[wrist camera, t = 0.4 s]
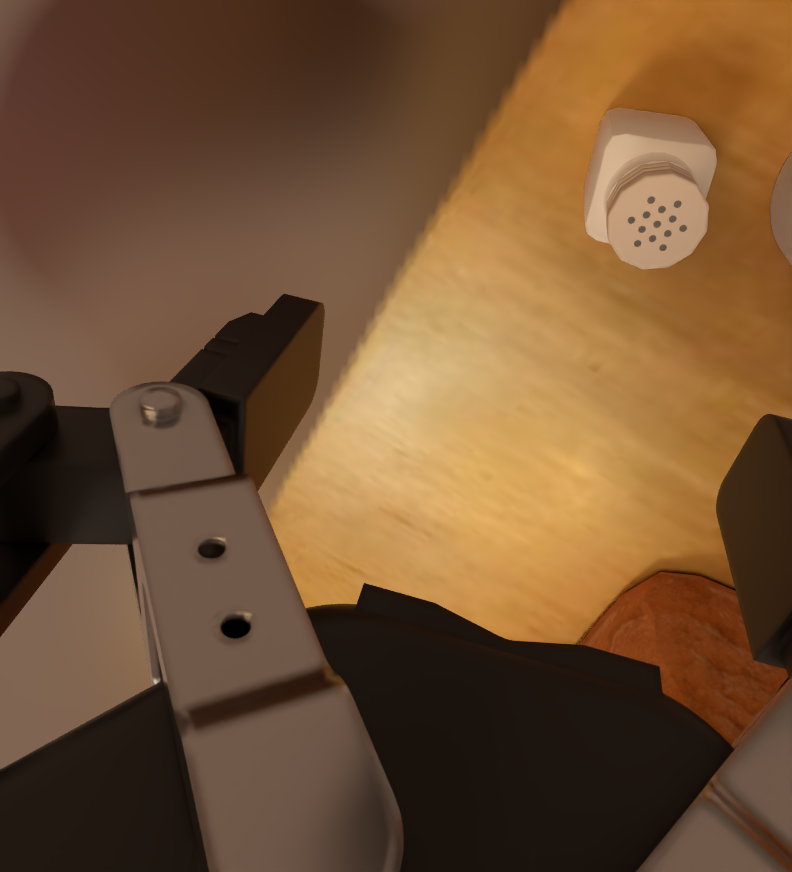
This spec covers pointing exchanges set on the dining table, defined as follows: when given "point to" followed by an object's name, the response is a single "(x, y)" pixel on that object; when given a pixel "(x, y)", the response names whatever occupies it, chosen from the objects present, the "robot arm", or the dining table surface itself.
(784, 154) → the dining table surface
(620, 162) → the salt shaker
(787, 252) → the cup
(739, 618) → the bread
